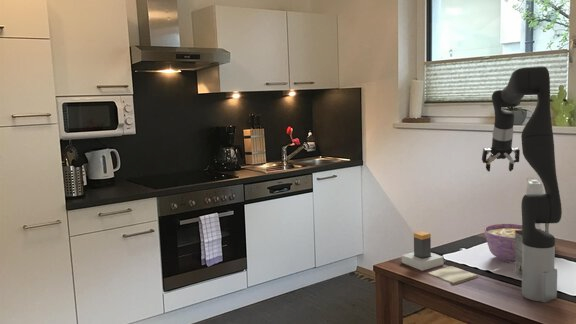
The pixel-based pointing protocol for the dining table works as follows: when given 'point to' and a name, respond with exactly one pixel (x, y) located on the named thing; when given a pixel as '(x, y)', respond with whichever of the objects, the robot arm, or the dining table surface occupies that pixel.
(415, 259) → the white square block
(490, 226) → the bowl of food
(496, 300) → the dining table surface
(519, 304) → the dining table surface
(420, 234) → the grey square pillar
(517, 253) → the coffee box
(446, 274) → the mat
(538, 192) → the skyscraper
